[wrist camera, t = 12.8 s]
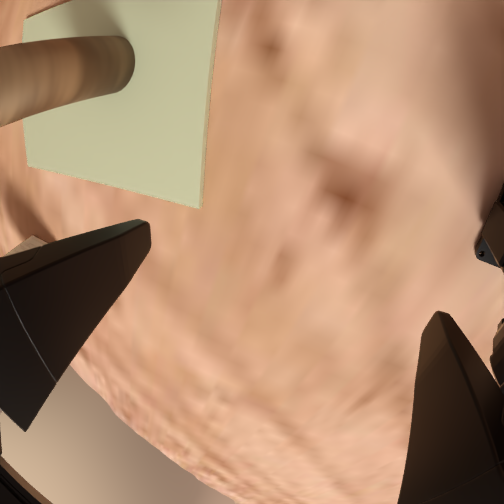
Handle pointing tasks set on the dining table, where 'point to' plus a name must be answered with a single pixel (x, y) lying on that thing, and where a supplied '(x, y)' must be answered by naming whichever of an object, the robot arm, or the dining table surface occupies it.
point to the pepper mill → (61, 73)
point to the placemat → (134, 99)
